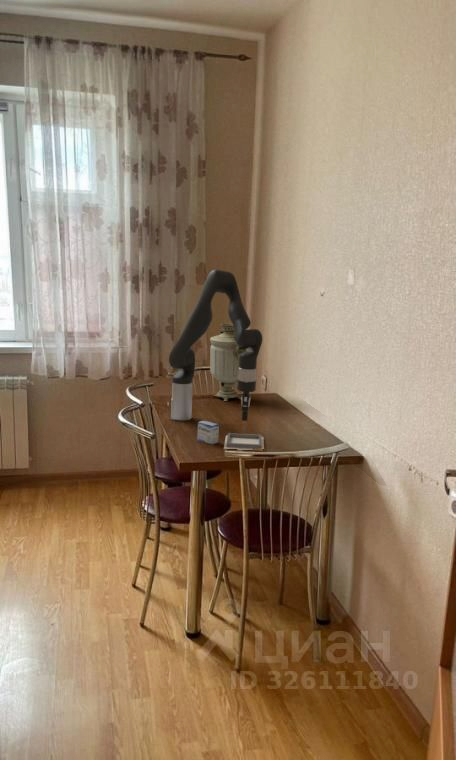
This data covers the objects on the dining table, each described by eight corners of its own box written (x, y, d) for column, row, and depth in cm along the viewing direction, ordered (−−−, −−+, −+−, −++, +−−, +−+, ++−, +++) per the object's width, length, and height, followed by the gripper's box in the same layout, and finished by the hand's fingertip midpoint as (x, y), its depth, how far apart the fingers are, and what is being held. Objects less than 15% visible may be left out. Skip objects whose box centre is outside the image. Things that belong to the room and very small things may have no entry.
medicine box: (196, 442, 252) (197, 422, 250) (203, 439, 256) (204, 419, 254) (211, 446, 248) (212, 425, 246) (218, 443, 251) (219, 423, 249)
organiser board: (223, 451, 242) (223, 444, 242) (225, 438, 259) (226, 431, 258) (263, 453, 242) (264, 446, 241) (263, 439, 258) (263, 433, 258)
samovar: (264, 404, 317) (268, 328, 308) (216, 406, 310) (218, 328, 301) (246, 391, 345) (249, 320, 336) (201, 392, 337) (203, 320, 329)
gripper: (238, 374, 251) (236, 412, 255) (236, 382, 237) (234, 422, 241) (256, 375, 251) (254, 413, 255) (256, 383, 237) (253, 423, 241)
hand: (244, 417), depth 248 cm, fingers open, 8 cm apart
